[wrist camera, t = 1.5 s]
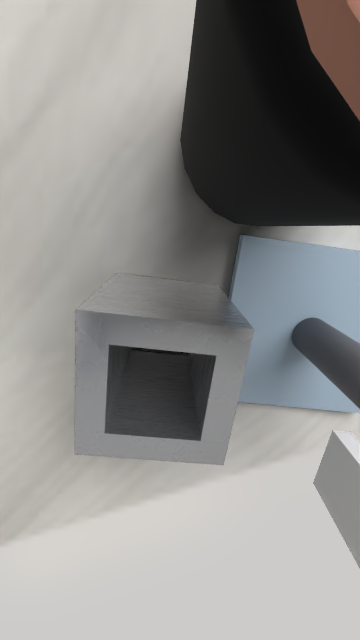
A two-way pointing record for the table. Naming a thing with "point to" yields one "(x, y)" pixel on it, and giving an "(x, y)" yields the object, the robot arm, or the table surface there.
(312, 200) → the coffee jar
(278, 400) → the blue base with peg
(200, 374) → the square metal tube
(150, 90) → the table surface
